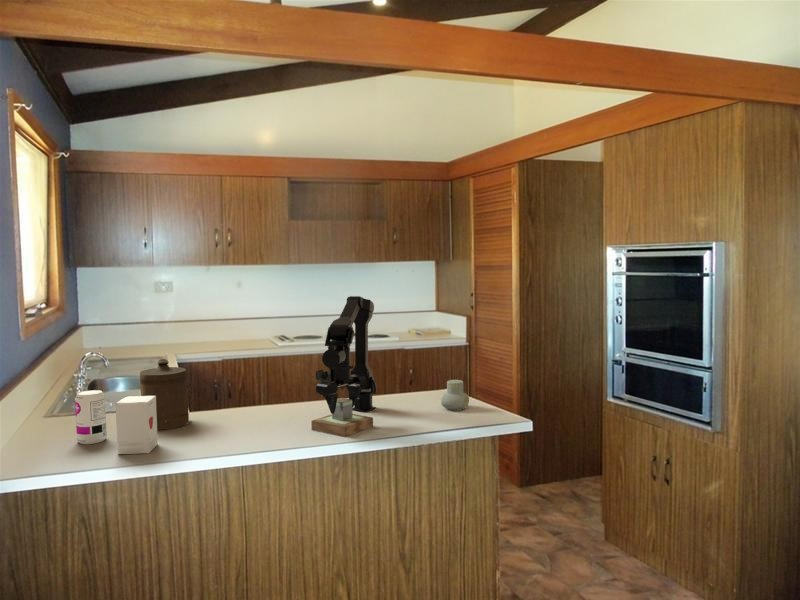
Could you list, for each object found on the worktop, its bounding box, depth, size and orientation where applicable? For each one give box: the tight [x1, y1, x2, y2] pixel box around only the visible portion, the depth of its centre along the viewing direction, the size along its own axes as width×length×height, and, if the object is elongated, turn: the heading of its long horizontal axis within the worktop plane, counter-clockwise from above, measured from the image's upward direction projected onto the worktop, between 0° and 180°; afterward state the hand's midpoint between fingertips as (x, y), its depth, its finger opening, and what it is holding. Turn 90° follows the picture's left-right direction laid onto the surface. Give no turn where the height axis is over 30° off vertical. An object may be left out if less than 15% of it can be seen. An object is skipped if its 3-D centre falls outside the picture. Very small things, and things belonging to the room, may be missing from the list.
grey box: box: [331, 397, 353, 421], centre depth 205 cm, size 5×5×6 cm
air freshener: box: [440, 379, 470, 411], centre depth 229 cm, size 11×8×10 cm
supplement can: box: [74, 389, 108, 445], centre depth 194 cm, size 8×8×15 cm
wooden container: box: [139, 358, 190, 431], centre depth 212 cm, size 15×15×22 cm
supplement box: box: [115, 395, 159, 455], centre depth 185 cm, size 9×9×15 cm
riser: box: [311, 413, 374, 438], centre depth 205 cm, size 14×14×3 cm
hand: (342, 410), depth 205 cm, fingers open, 9 cm apart
